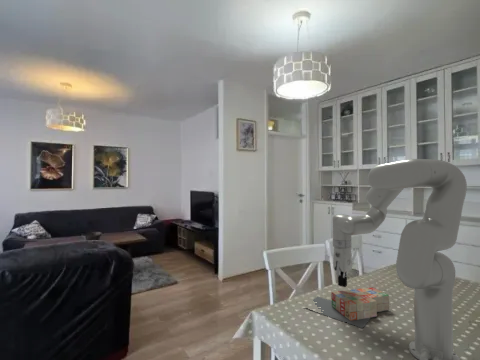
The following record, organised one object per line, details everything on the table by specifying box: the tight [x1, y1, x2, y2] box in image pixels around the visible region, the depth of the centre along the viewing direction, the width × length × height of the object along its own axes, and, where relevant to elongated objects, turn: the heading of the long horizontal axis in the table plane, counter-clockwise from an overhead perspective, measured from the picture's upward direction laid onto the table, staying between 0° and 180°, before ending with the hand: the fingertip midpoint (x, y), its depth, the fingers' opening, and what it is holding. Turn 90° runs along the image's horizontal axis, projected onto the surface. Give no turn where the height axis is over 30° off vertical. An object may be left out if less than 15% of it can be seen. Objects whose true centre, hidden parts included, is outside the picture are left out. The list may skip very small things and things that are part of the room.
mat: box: [312, 296, 372, 329], centre depth 109 cm, size 14×24×1 cm, turn 49°
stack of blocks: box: [330, 287, 390, 321], centre depth 109 cm, size 21×6×12 cm
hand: (342, 285), depth 114 cm, fingers closed
